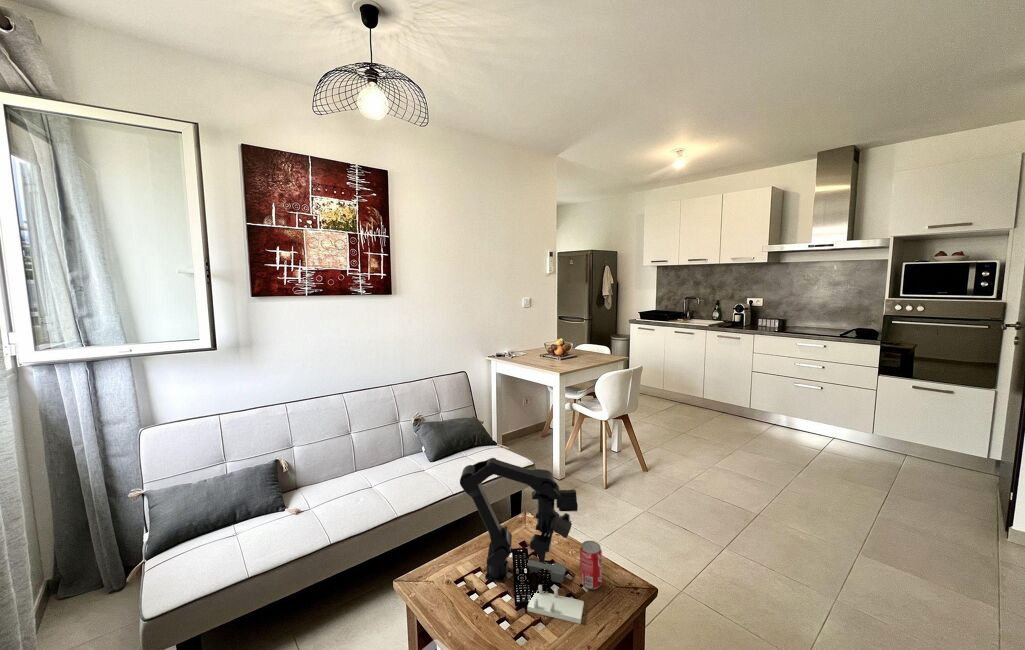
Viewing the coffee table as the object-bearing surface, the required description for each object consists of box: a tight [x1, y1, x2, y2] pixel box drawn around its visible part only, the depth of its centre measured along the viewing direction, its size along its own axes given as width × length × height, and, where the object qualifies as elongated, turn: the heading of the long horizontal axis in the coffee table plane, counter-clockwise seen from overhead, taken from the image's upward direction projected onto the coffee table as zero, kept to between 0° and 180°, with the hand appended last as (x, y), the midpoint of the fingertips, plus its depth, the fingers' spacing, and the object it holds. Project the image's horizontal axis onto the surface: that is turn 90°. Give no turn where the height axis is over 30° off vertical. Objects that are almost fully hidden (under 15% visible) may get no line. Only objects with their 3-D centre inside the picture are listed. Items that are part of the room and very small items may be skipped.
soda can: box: [579, 540, 603, 591], centre depth 134 cm, size 7×7×13 cm
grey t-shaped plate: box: [527, 559, 566, 585], centre depth 139 cm, size 14×5×3 cm, turn 73°
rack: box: [526, 584, 585, 625], centre depth 124 cm, size 16×7×4 cm, turn 73°
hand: (545, 553), depth 138 cm, fingers open, 9 cm apart
